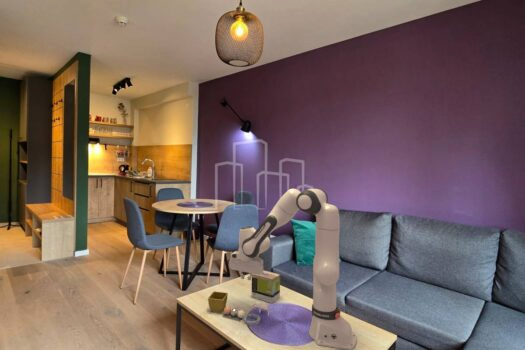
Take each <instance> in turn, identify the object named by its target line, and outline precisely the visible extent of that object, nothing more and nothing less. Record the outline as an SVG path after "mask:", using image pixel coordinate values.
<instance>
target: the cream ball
mask: <svg viewBox="0 0 525 350" xmlns="http://www.w3.org/2000/svg"><path fill="white" fill-rule="evenodd" d="M237 315H238V317H239V318H243V317H244V316H245V315H246V311H245V310H243V309H241V310H238V313H237Z"/></svg>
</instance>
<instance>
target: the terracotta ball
mask: <svg viewBox="0 0 525 350" xmlns="http://www.w3.org/2000/svg"><path fill="white" fill-rule="evenodd" d="M231 310H232V308H231V307H230V306H225V308H224V309H223V313H224V314H226V315H228V314H230V312H231Z"/></svg>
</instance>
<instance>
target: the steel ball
mask: <svg viewBox="0 0 525 350" xmlns="http://www.w3.org/2000/svg"><path fill="white" fill-rule="evenodd" d="M238 311H239V310H238V309H237V308H235V307H234V308H231V312H230V313H231V315H232V316H237V313H238Z"/></svg>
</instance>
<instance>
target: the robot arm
mask: <svg viewBox="0 0 525 350" xmlns="http://www.w3.org/2000/svg"><path fill="white" fill-rule="evenodd" d="M328 202H329V196H328V194H327V192H326V191H325V190H323V188H308V189H305V190H302V191H300V190H298V189H297V188H290V189H288V190H287V191H286V192H285V193H284V194H283V195H282V196H281V197H280V198H279V199H278V200H277V202H276V204H275V205H274V206H273V207H272V210H271V211H270V212H269V214H268V215H267V216H266V218H265V219H264V220H263V221H262V223H261V224H260V225H259V226H258V227H257V228H256V229H255V227H254V226H252V225H247V226H243V227H241V228H240V229H239V233H238V245H239V246H238V250H236V251H233V252H232V253H230V255H229V256H230V258H229V263H228V268H229V269H230V270H233V271H238V273H239V275H240V279H241V280H244V279H245V276H246V275H245V274H244V273H248V274H249V275H248V276H247V281H252V275H253V274H257V275H261V274H262V273H263V270H264V259H262V257H260V256H258V255H260V254H262V253H264V252H266V251H267V250H269V249H270V247H271V240H270V237H269V235H270V234H271V233H272V232H273V231H275V230H277V229H278V228H280V227H283V226H284V225H286V224H288V222H290V221H291V220H292V219H293V218H294V217H295V215H296V214H297V213H298V212H299V210H300V211H301V212H304V213H306V214H308V215H311V216H315V220H316V223H315V239H314V240H315V241H314V244H315V245H314V246H315V247H314V248H315V250H314V251H315V254H314V255H315V256H314V257H313V261H312V262H313V263H312V266H313V267H312V272H313V273H312V274H313V276H312V277H313V279H312V284H313V285H312V286H313V289H312V294H313V295H312V304H311V323H310V327H309V329H308V335H309V337H310V338H311V339H312V340H314V342H315V344H317V345H318V346H322V347H328V348H335V349H340V350H353V349H355V347H356V345H357V342H358V341H357V340H358V339H357V334H356V333H355V332H354V331H353V330H352V326H351V324H350V322H349V321H347V320H346V319H345V318H344V317H343V316H342V315H341V307H339V308H338V307H337V283H338V281H339V278H340V246H339V245H340V229H341V228H340V227H341V226H340V225H341V221H340V220H341V219H340V212H339V209H338V207H337V206H336V205H334V204H330V203H328Z"/></svg>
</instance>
